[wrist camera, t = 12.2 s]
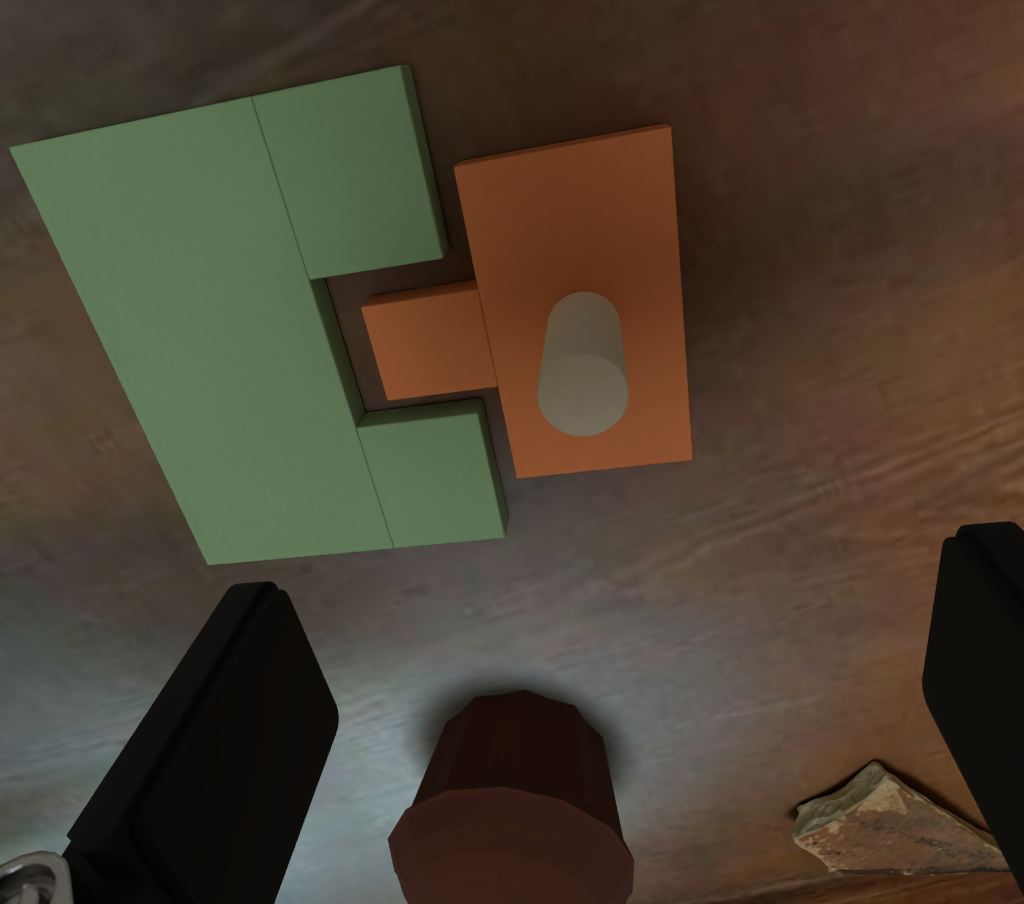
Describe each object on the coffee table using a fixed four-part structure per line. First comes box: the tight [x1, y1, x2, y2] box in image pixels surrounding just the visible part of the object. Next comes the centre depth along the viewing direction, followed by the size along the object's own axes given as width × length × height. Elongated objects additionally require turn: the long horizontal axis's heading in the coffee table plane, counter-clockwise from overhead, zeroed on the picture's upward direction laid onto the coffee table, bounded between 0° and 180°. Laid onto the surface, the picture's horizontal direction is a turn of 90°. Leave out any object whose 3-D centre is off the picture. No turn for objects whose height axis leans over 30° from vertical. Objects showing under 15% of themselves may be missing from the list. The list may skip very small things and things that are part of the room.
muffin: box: [388, 690, 634, 904], centre depth 34 cm, size 12×11×10 cm
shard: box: [792, 761, 1011, 876], centre depth 38 cm, size 11×8×2 cm
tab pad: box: [361, 123, 693, 478], centre depth 24 cm, size 12×11×8 cm
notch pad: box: [9, 65, 508, 565], centre depth 28 cm, size 18×14×2 cm
